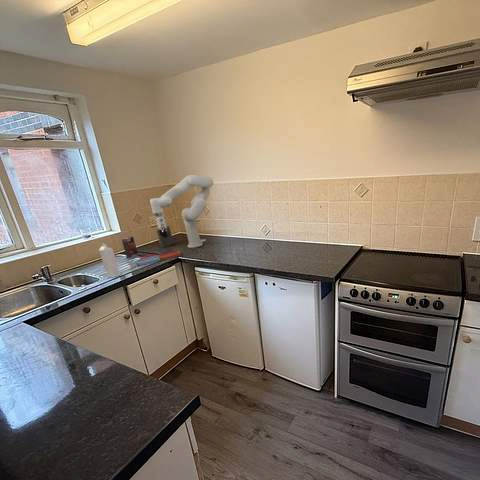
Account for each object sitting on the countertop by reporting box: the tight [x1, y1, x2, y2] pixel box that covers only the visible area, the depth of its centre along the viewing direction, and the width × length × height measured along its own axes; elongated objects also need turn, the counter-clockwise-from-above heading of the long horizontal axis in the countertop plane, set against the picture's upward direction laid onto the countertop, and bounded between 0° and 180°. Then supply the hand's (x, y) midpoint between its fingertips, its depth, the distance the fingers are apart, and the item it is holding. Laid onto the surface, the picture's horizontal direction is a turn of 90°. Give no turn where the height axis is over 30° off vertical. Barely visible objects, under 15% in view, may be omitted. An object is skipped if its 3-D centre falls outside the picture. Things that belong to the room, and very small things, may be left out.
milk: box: [98, 243, 121, 279], centre depth 196 cm, size 6×6×22 cm
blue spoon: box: [157, 249, 174, 256], centre depth 239 cm, size 12×4×2 cm, turn 122°
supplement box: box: [121, 236, 139, 260], centre depth 236 cm, size 9×5×16 cm, turn 168°
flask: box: [156, 225, 174, 249], centre depth 260 cm, size 4×14×18 cm, turn 156°
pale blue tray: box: [135, 254, 161, 267], centre depth 222 cm, size 15×11×2 cm
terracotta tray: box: [157, 250, 182, 262], centre depth 229 cm, size 15×11×2 cm
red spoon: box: [139, 253, 156, 259], centre depth 233 cm, size 12×4×2 cm, turn 122°
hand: (164, 236), depth 235 cm, fingers open, 9 cm apart
